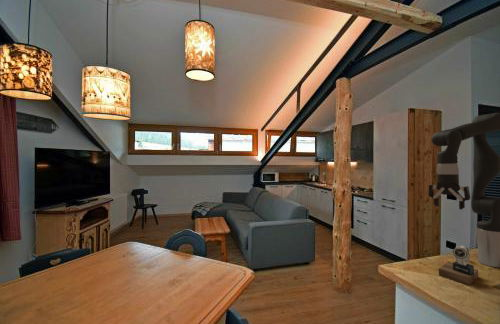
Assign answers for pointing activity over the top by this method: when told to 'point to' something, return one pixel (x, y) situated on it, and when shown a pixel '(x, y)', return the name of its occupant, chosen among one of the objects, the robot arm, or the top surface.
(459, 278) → the plinth
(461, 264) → the watch
